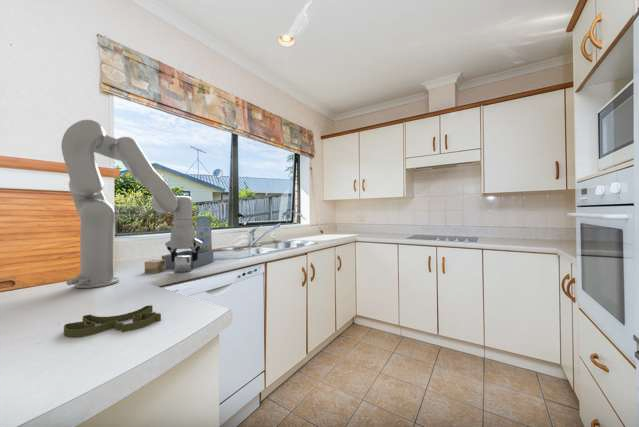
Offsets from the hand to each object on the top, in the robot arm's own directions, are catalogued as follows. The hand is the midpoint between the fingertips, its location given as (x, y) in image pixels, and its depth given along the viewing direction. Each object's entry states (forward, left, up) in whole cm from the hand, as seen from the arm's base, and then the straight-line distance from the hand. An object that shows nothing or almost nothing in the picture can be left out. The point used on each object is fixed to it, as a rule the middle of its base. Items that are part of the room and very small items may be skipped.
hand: (184, 260), depth 121 cm
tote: (+16, +8, -5) cm, 19 cm away
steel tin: (-1, +1, -5) cm, 5 cm away
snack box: (+40, +13, -5) cm, 43 cm away
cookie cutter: (-58, -18, -5) cm, 61 cm away
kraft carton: (-1, +14, -5) cm, 14 cm away
